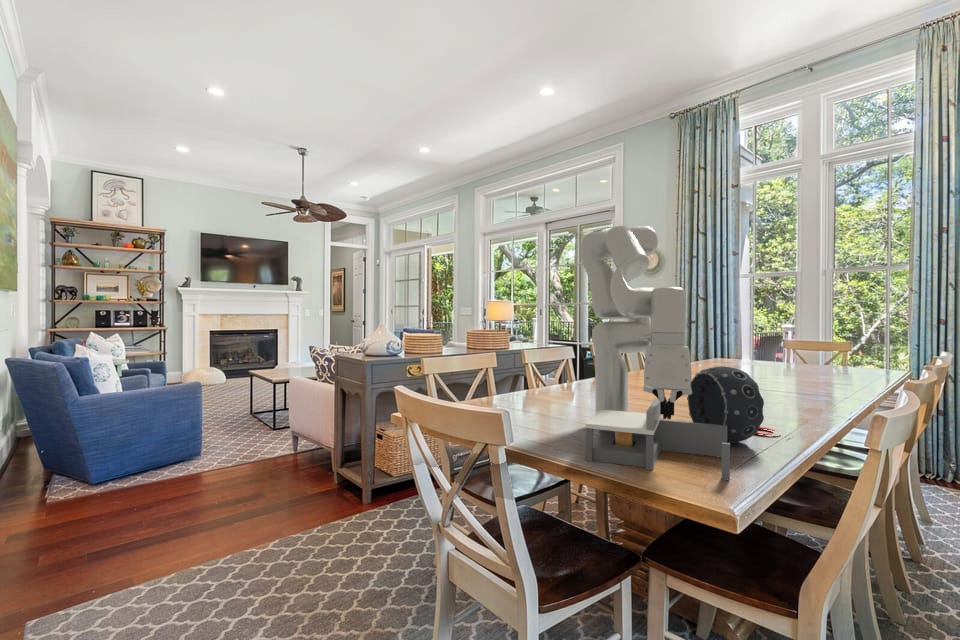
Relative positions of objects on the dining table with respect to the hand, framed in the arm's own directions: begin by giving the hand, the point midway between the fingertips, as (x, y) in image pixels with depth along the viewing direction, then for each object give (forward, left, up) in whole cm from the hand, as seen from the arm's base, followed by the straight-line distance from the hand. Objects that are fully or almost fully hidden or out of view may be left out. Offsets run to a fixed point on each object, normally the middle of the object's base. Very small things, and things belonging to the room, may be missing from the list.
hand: (667, 417), depth 111 cm
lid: (0, -10, -2) cm, 10 cm away
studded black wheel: (-23, +12, -10) cm, 28 cm away
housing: (0, -2, -10) cm, 10 cm away
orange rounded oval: (0, -10, -10) cm, 14 cm away
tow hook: (-37, +22, -10) cm, 44 cm away
